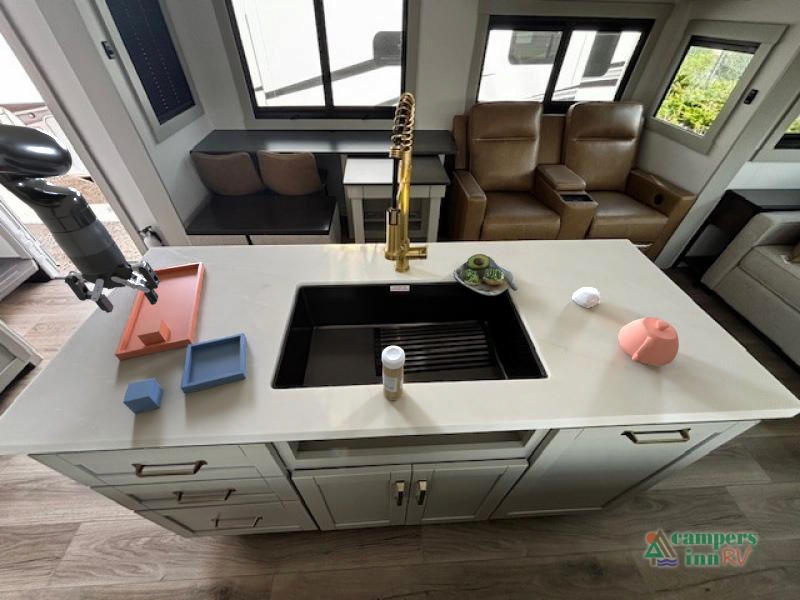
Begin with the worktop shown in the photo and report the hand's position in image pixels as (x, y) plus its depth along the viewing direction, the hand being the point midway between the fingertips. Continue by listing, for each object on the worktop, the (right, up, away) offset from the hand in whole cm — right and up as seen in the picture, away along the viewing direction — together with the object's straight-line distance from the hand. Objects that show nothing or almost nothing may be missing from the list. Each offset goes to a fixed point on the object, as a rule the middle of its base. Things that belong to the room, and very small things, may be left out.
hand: (133, 306), depth 73 cm
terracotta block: (0, -8, +8) cm, 12 cm away
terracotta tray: (-4, 0, +17) cm, 18 cm away
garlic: (+115, +1, +24) cm, 118 cm away
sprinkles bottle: (+58, -19, 0) cm, 62 cm away
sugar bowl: (+121, -12, +10) cm, 122 cm away
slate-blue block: (+7, -20, -4) cm, 22 cm away
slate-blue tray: (+17, -14, +4) cm, 22 cm away
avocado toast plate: (+86, +8, +31) cm, 92 cm away
